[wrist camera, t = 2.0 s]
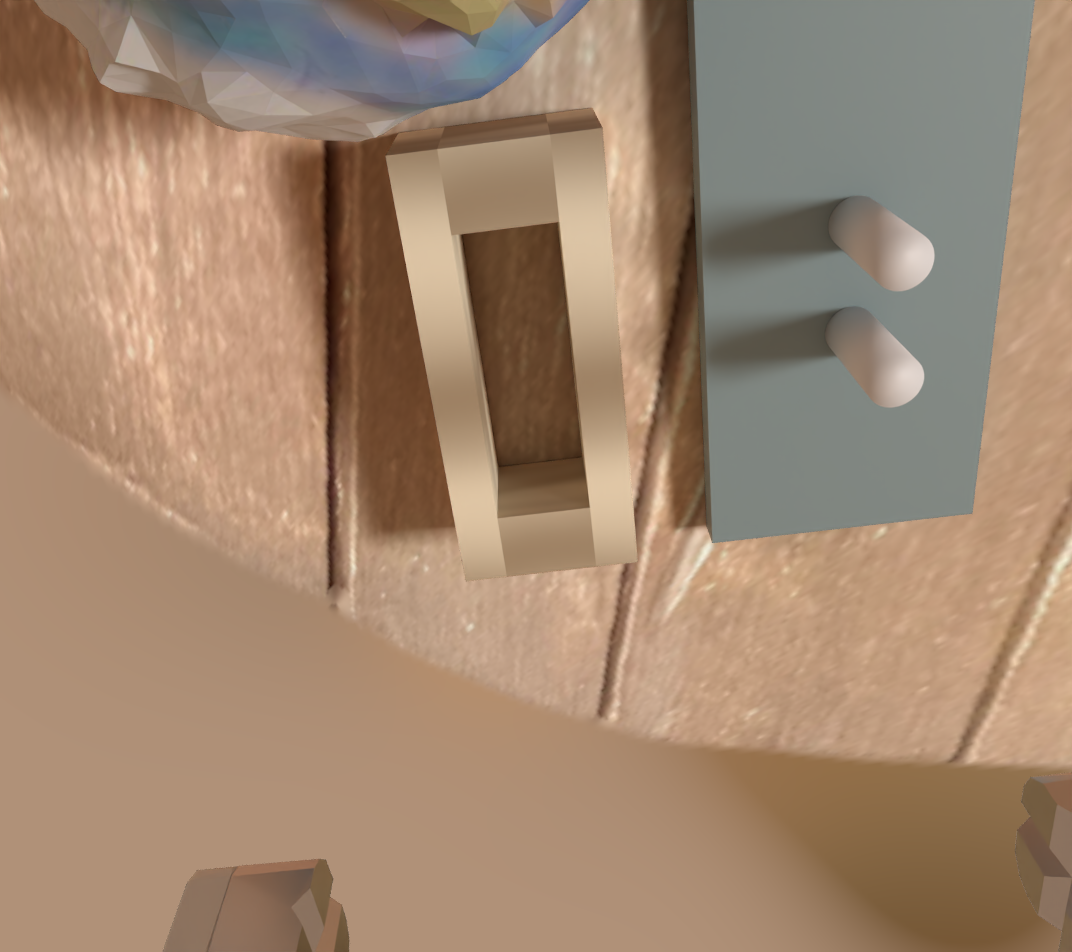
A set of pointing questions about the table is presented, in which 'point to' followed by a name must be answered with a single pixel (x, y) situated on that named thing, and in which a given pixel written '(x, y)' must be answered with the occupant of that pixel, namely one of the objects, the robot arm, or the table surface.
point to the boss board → (849, 252)
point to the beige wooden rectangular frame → (453, 349)
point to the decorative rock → (310, 56)
